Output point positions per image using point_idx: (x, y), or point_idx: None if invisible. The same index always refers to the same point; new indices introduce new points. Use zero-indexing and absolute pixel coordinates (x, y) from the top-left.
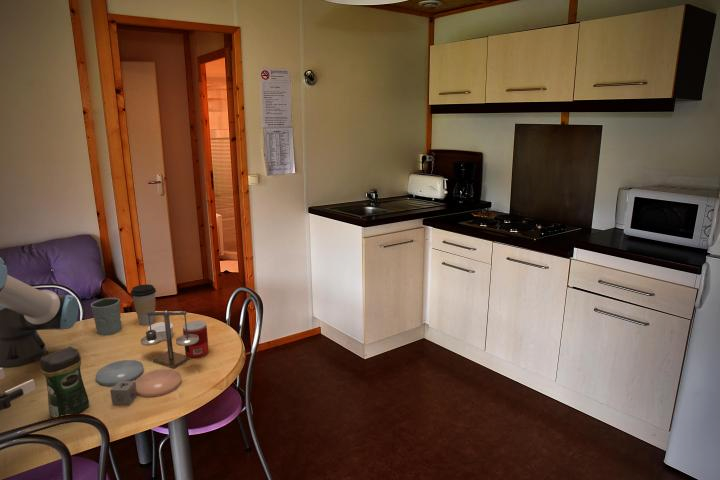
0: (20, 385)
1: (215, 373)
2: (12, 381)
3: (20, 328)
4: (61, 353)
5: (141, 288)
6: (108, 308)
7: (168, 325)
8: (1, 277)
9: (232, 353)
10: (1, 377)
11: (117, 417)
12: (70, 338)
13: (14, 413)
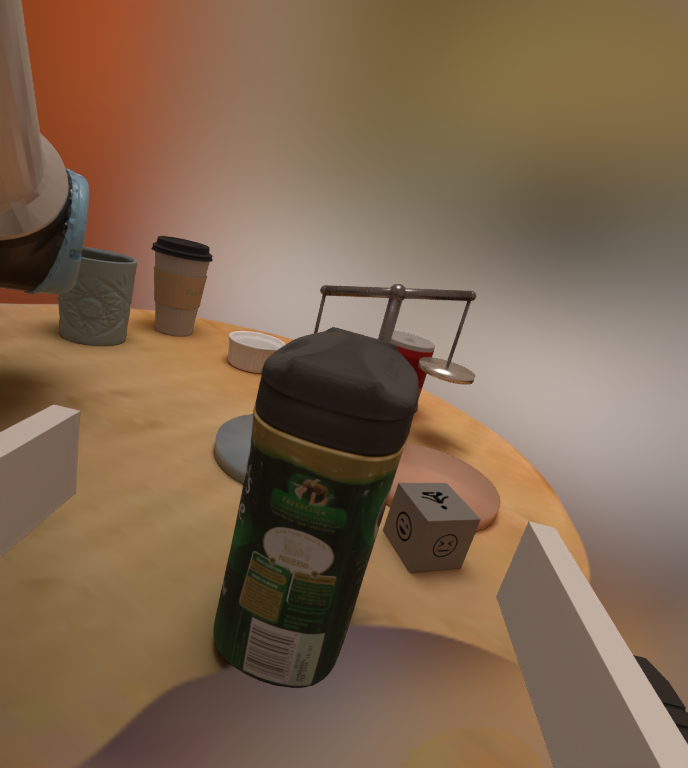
0: (599, 612)
1: (500, 456)
2: None
3: None
4: (374, 351)
5: (181, 242)
6: (120, 270)
7: (394, 327)
8: None
9: (455, 412)
10: (59, 498)
11: (502, 629)
12: None
13: None
